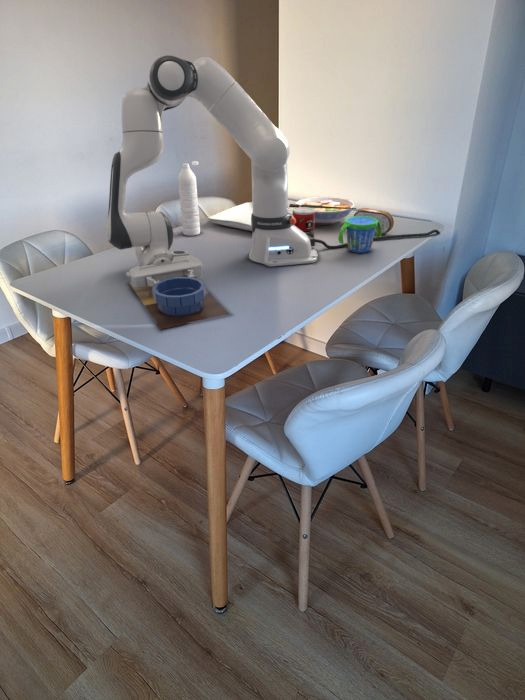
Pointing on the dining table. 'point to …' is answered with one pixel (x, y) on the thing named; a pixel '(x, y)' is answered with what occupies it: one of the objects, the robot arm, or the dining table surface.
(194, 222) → the water bottle
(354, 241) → the snack cup
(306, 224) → the canned food
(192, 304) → the bowl
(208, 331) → the dining table surface
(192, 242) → the dining table surface
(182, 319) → the mat
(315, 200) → the ramen bowl
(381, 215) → the tin
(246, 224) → the square plate
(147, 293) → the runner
